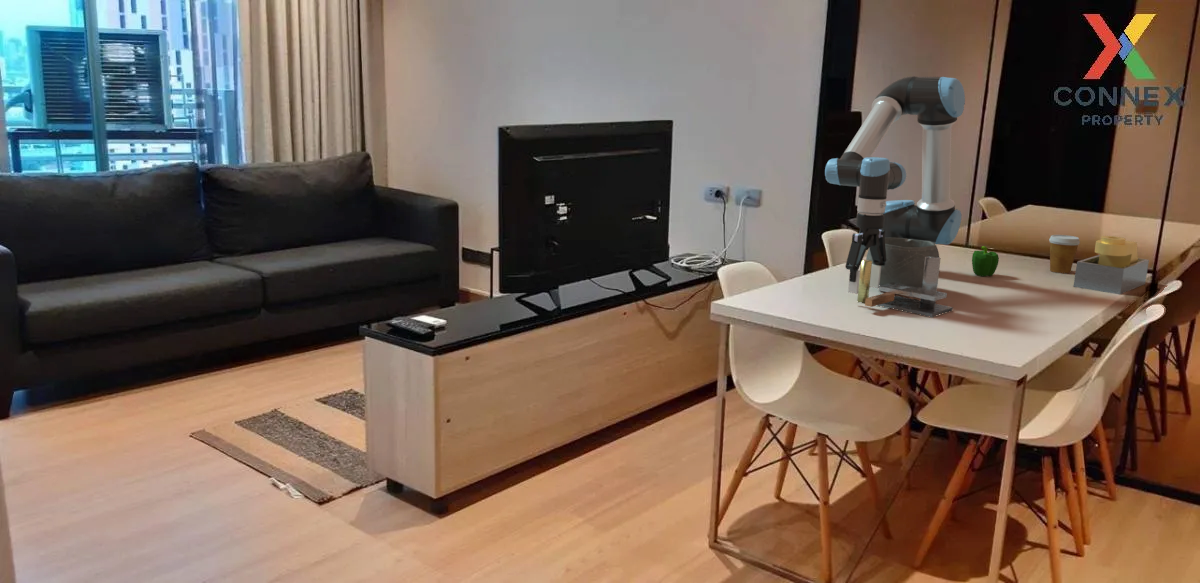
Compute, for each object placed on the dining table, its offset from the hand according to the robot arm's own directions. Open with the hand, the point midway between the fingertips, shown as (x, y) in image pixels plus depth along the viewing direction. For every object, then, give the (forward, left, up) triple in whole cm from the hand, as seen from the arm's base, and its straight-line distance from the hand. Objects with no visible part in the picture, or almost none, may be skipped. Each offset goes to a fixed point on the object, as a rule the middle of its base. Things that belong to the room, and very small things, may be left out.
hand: (863, 290), depth 265 cm
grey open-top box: (+38, +86, -3) cm, 94 cm away
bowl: (-1, +23, -4) cm, 23 cm away
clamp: (+38, +87, -4) cm, 95 cm away
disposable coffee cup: (+19, +96, -4) cm, 98 cm away
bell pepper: (+5, +67, -4) cm, 67 cm away
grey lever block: (+13, 0, -3) cm, 13 cm away
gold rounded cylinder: (0, 0, -3) cm, 3 cm away
